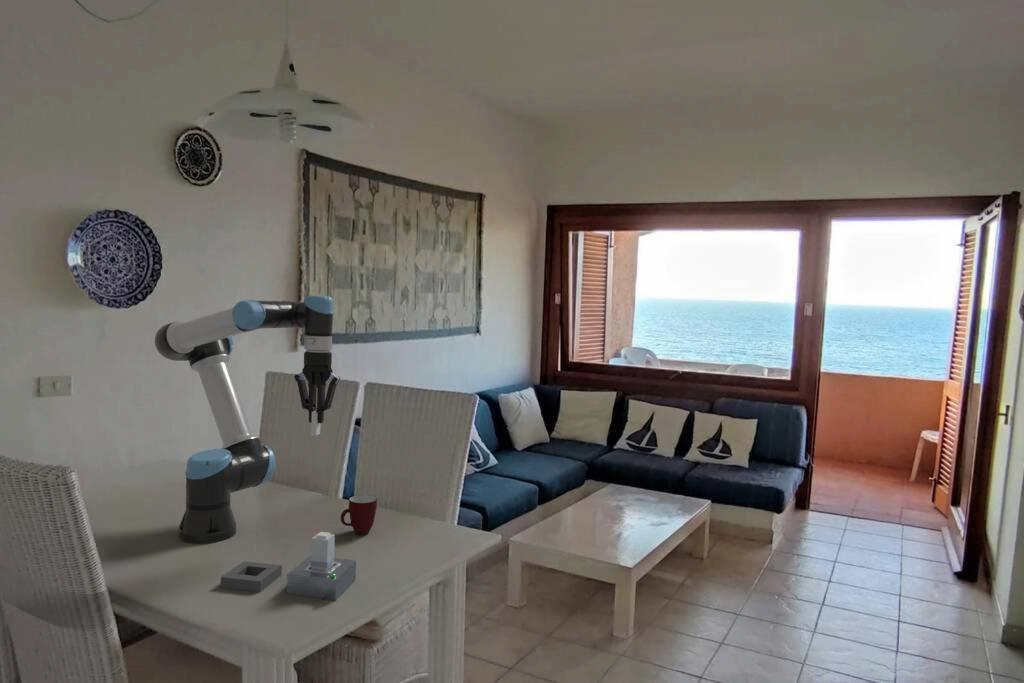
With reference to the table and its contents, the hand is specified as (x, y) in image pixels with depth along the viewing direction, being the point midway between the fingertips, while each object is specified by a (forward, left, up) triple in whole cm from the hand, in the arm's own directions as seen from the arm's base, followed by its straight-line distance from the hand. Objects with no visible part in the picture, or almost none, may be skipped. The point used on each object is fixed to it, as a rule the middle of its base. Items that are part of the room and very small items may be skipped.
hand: (315, 434), depth 194 cm
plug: (+16, -29, -30) cm, 45 cm away
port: (+16, -29, -30) cm, 45 cm away
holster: (-1, -31, -30) cm, 43 cm away
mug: (+10, +9, -31) cm, 33 cm away
